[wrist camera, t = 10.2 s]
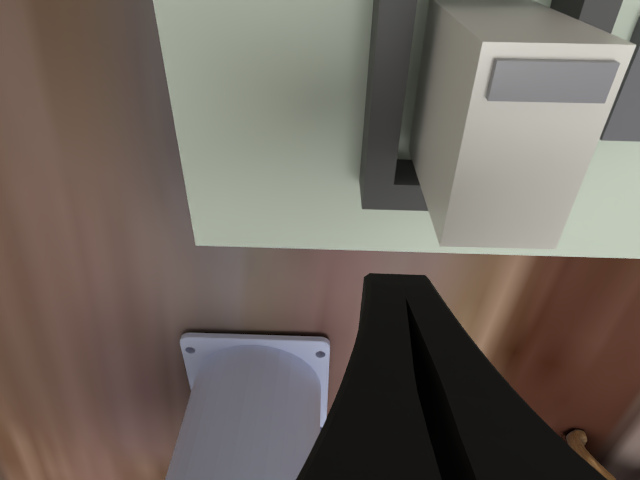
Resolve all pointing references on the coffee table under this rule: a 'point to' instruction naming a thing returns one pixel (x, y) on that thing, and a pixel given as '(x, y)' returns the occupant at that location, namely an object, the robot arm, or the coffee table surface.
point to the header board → (351, 127)
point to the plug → (509, 118)
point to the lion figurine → (577, 443)
